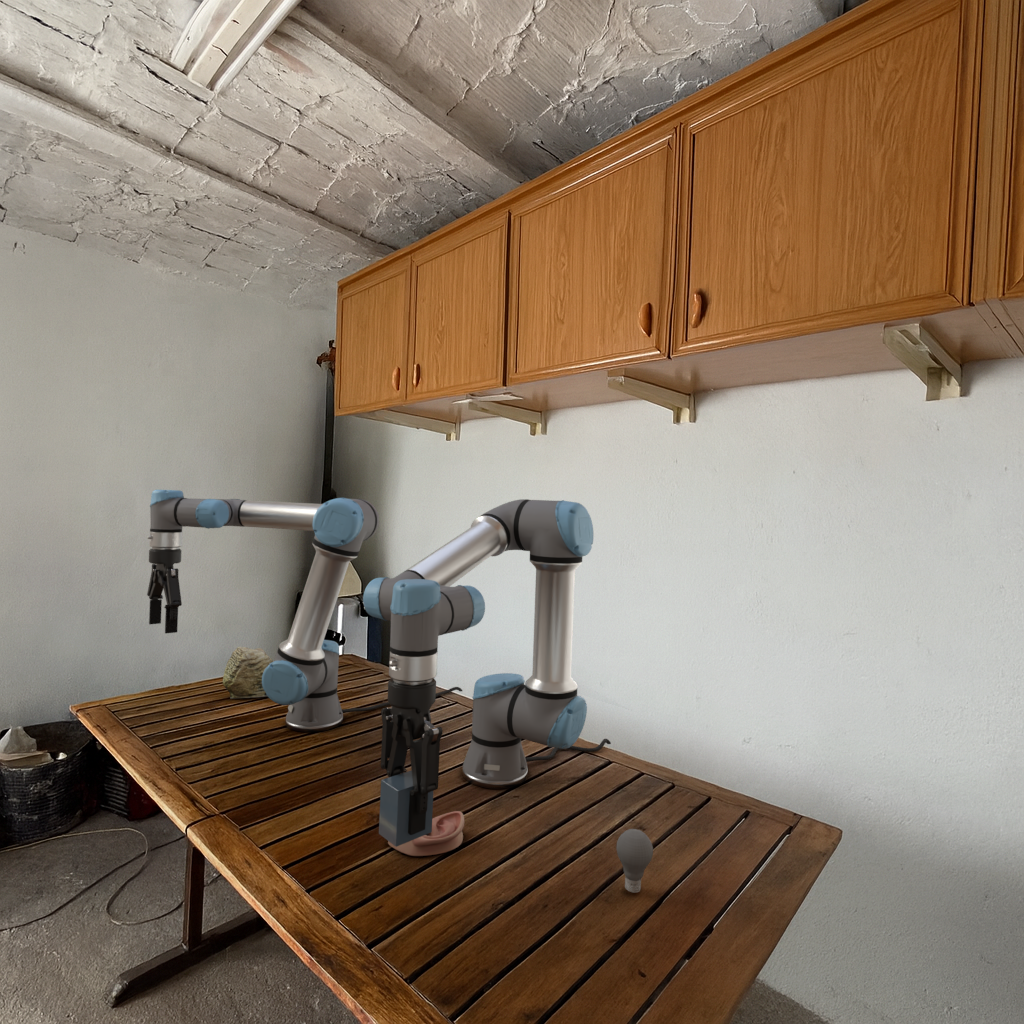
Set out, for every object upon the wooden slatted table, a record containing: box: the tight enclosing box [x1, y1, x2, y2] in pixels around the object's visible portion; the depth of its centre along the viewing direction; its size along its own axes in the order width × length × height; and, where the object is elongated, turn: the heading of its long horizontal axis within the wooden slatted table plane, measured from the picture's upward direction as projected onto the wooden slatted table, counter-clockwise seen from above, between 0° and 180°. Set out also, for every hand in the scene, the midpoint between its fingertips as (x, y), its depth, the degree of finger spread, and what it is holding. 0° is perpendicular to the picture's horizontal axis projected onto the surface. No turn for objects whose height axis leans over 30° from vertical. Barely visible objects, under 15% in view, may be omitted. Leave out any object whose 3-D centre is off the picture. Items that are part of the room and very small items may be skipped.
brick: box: [378, 769, 434, 847], centre depth 100 cm, size 5×7×9 cm
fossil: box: [222, 646, 274, 699], centre depth 198 cm, size 9×18×15 cm, turn 132°
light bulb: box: [615, 828, 654, 894], centre depth 106 cm, size 6×6×10 cm
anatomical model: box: [387, 810, 465, 857], centre depth 118 cm, size 13×4×12 cm
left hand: (162, 628), depth 168 cm, fingers open, 13 cm apart
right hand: (406, 823), depth 100 cm, fingers closed on brick, 5 cm apart
